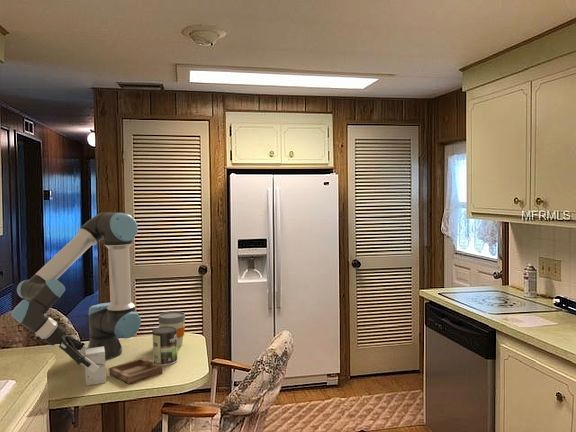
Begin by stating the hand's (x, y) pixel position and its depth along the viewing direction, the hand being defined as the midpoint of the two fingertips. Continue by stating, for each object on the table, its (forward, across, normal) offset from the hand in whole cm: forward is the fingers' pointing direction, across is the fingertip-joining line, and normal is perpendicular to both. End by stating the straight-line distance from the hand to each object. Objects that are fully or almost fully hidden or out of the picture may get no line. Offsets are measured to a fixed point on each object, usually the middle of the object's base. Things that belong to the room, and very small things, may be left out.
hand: (95, 363), depth 194 cm
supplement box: (+5, 0, -5) cm, 7 cm away
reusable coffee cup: (+30, -29, +20) cm, 46 cm away
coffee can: (+25, -9, +15) cm, 31 cm away
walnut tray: (+16, 0, +6) cm, 17 cm away
